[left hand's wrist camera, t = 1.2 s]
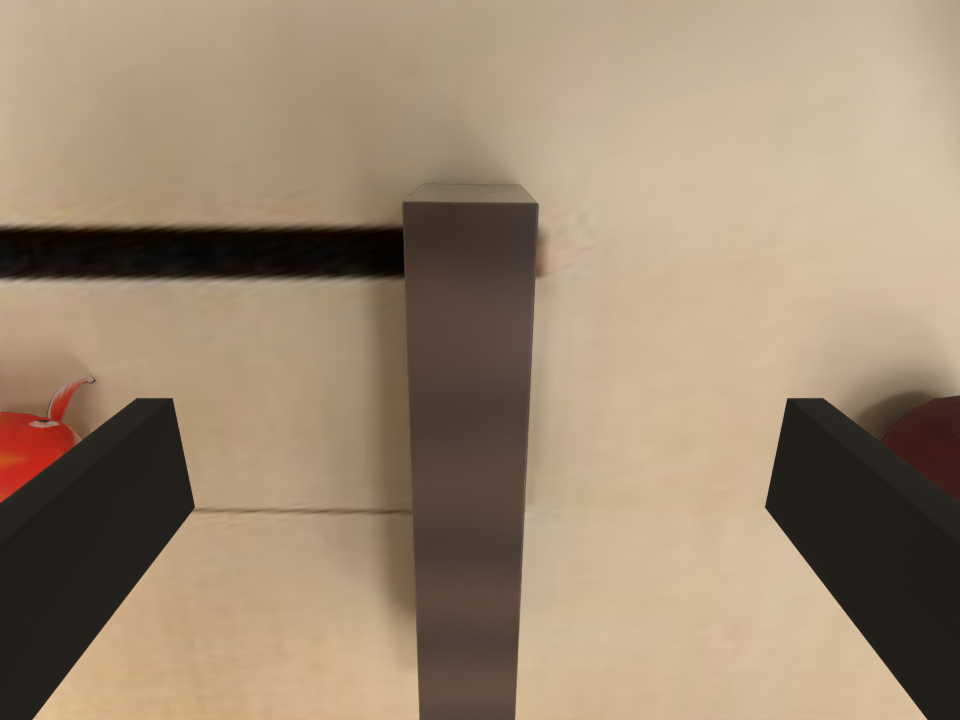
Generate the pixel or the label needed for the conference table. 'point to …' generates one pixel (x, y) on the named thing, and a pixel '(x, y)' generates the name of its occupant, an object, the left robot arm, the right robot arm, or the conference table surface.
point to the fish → (35, 440)
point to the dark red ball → (931, 442)
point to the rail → (469, 437)
